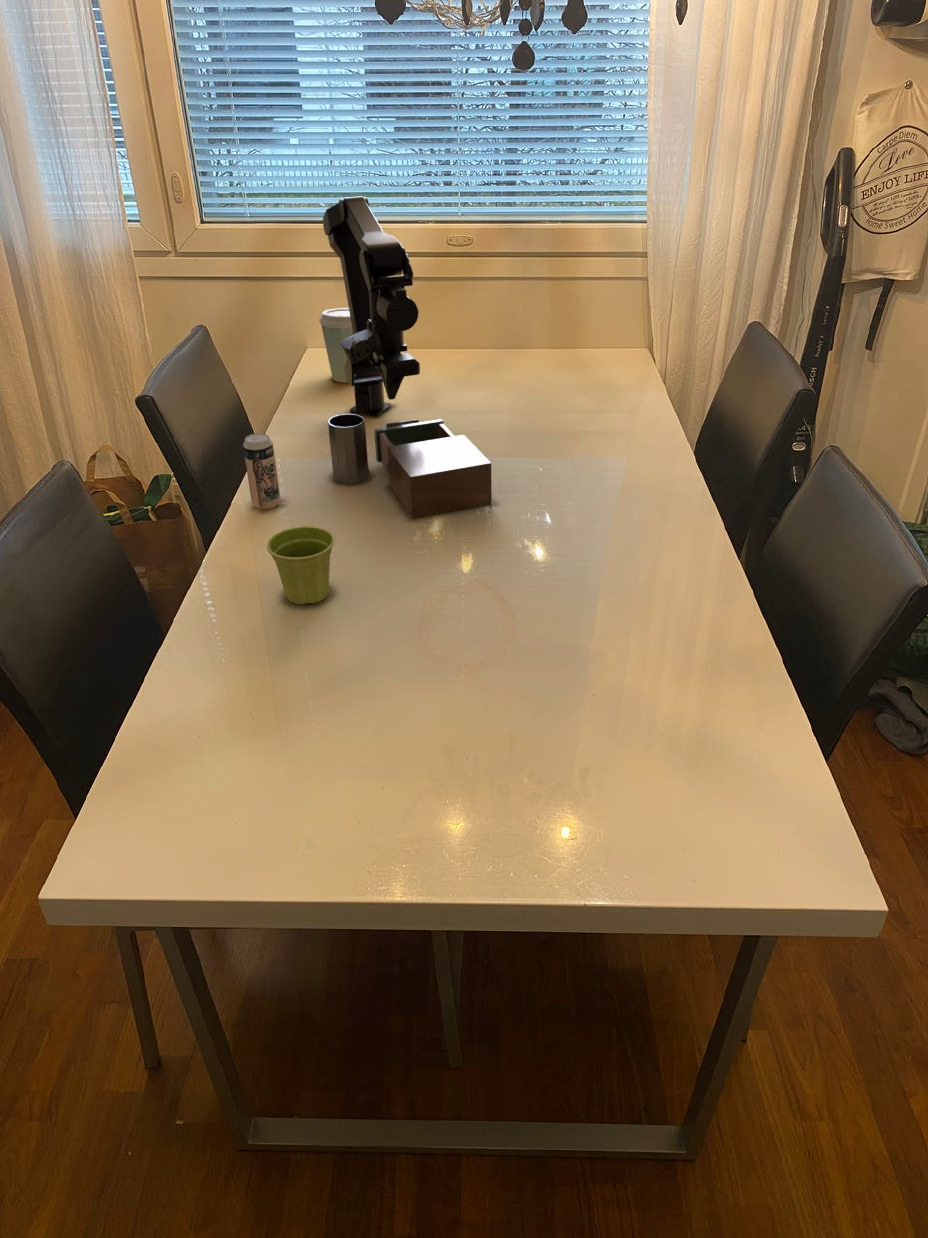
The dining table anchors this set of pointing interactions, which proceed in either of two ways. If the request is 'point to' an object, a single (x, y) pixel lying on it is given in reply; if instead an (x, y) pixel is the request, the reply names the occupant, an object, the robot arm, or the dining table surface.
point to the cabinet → (439, 476)
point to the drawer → (407, 435)
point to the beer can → (261, 471)
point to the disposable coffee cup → (336, 339)
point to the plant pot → (303, 562)
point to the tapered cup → (348, 448)
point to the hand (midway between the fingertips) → (391, 398)
